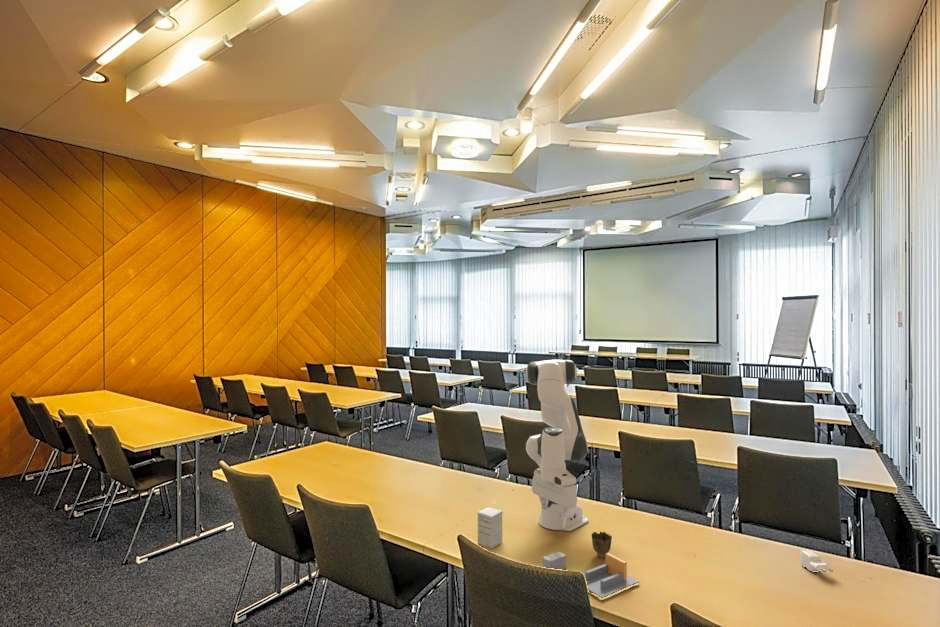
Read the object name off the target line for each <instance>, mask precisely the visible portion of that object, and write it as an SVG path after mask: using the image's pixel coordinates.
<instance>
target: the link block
mask: <svg viewBox="0 0 940 627" xmlns="http://www.w3.org/2000/svg"><path fill="white" fill-rule="evenodd" d="M543 567H546V568H554V569H565V570H567V555H566V554H564V553H563V552H561V551H557V552H554V553H551V554H548V555H545V556H543V557H542V568H543Z"/></svg>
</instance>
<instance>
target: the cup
mask: <svg viewBox="0 0 940 627" xmlns="http://www.w3.org/2000/svg"><path fill="white" fill-rule="evenodd" d="M612 538H613V536H612V535H611V534H609V533H607V532H606V531H603V532H602V531H599V533H597V531H593V532H592V533H591V543H592V548H593V550H594V552H596V556H597V557H598V558H600V557H602V558H601V559H605V558H606V553H610V550H611V548H612V547H611V545H612ZM604 557H605V558H604Z"/></svg>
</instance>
